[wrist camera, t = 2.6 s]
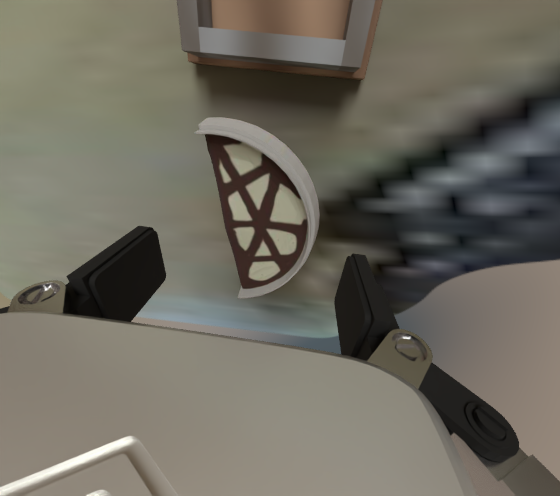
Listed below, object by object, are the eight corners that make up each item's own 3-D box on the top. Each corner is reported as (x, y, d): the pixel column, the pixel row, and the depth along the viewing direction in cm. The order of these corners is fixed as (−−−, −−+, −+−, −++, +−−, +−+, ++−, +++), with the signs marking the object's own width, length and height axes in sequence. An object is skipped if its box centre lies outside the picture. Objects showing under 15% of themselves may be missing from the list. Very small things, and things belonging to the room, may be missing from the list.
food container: (317, 237, 25) (320, 305, 17) (262, 238, 26) (239, 303, 18) (316, 104, 19) (319, 105, 10) (242, 112, 20) (190, 119, 11)
